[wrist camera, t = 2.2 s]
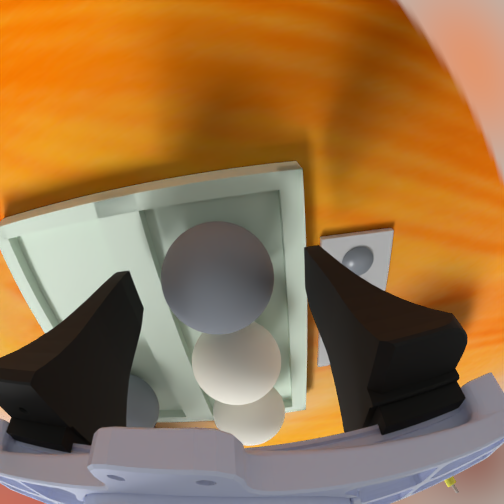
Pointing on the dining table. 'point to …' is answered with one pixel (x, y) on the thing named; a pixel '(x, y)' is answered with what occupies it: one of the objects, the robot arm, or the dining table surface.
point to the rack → (151, 260)
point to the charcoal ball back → (141, 404)
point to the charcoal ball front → (217, 277)
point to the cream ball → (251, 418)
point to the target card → (359, 261)
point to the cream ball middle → (237, 364)
